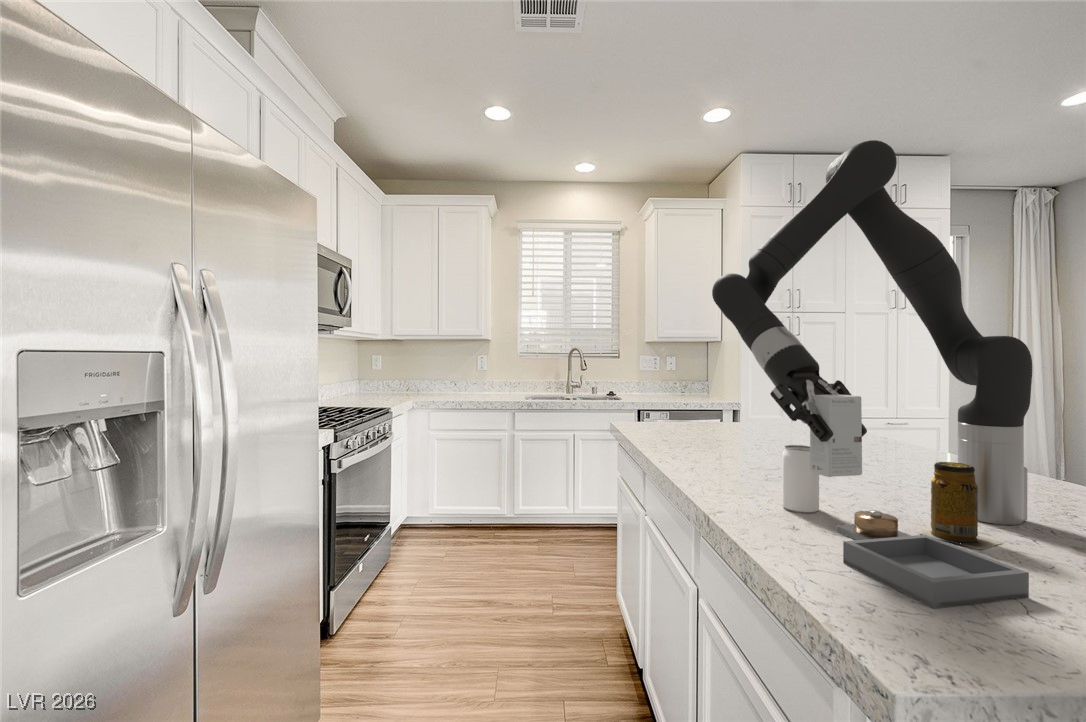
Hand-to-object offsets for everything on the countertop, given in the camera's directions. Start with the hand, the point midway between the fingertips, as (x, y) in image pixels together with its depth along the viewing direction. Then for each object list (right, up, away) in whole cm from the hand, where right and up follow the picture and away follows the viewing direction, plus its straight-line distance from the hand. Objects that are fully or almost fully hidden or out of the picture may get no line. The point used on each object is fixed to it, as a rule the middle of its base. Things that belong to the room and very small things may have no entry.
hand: (845, 436), depth 79 cm
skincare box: (-1, -6, +2) cm, 6 cm away
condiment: (+22, -18, +6) cm, 29 cm away
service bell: (+9, -17, +6) cm, 21 cm away
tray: (+6, -18, -9) cm, 21 cm away
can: (+4, -18, +23) cm, 29 cm away
